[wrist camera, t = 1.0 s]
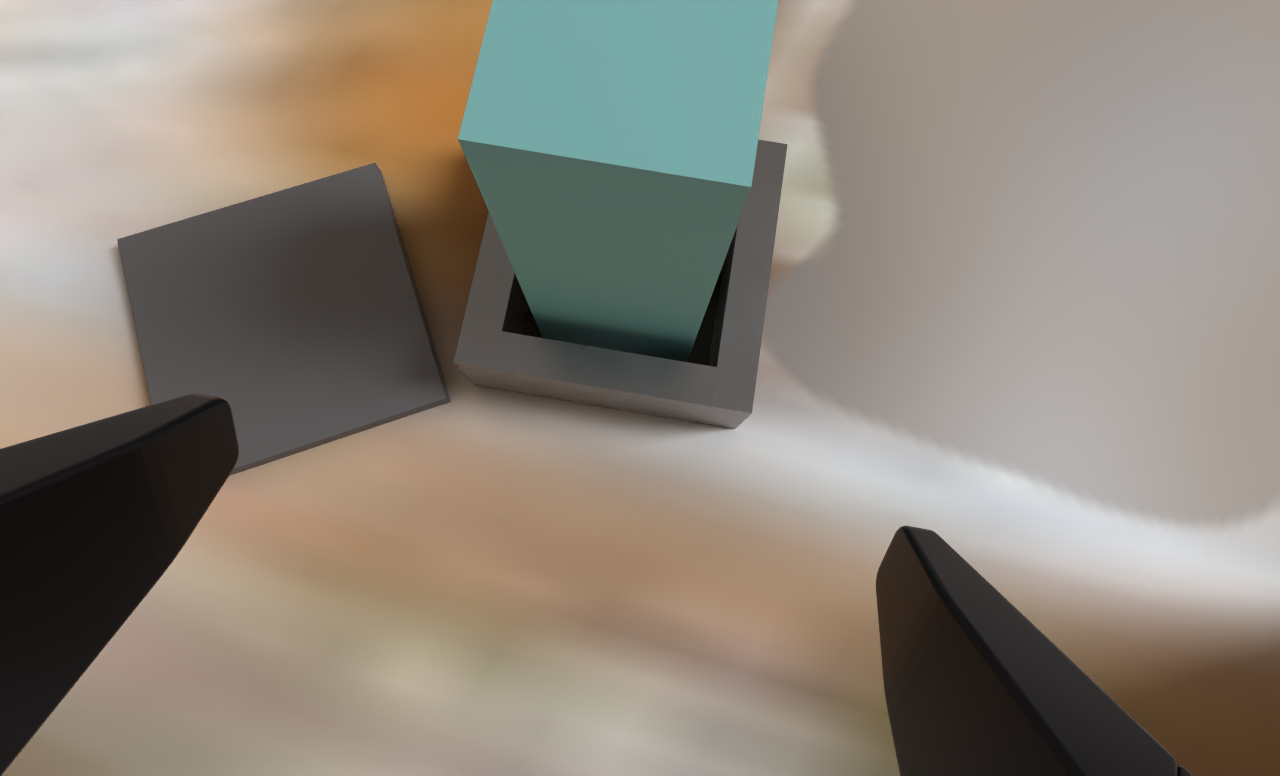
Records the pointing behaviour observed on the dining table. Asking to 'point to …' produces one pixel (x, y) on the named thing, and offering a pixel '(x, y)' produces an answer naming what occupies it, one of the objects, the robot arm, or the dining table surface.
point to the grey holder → (624, 378)
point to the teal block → (618, 157)
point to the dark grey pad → (286, 315)
